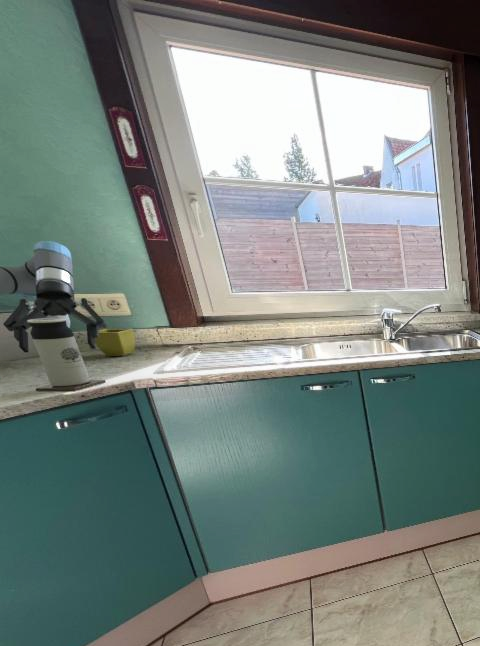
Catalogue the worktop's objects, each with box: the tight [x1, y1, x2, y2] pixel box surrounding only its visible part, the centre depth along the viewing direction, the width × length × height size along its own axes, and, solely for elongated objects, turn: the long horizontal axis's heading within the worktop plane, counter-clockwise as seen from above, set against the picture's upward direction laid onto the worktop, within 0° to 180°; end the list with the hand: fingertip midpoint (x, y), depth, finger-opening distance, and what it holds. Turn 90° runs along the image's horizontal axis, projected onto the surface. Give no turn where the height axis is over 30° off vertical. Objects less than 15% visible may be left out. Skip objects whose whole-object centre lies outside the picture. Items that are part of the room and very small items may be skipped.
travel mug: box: [27, 318, 91, 387], centre depth 137 cm, size 8×8×18 cm
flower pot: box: [95, 328, 136, 357], centre depth 179 cm, size 9×9×9 cm
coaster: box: [35, 379, 106, 392], centre depth 141 cm, size 10×10×1 cm
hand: (58, 347), depth 138 cm, fingers open, 13 cm apart
